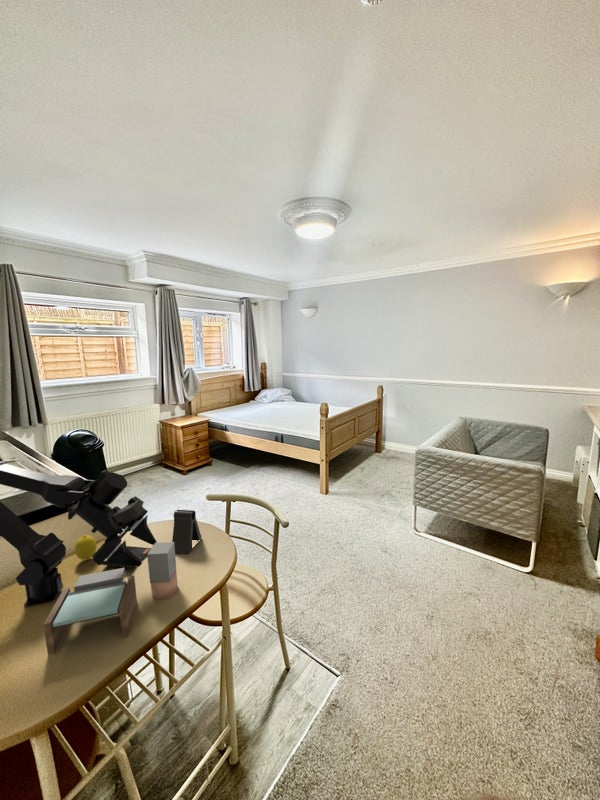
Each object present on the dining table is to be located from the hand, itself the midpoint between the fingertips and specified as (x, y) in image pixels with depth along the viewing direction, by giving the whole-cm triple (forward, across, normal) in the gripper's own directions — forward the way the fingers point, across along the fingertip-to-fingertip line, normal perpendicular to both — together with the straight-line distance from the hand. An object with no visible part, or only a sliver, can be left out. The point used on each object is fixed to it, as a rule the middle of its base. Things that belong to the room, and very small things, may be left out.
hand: (148, 553), depth 87 cm
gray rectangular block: (+7, 0, +2) cm, 7 cm away
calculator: (-1, +14, +17) cm, 22 cm away
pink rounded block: (+10, 0, +5) cm, 11 cm away
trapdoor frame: (+2, -12, +13) cm, 18 cm away
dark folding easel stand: (+10, +21, +6) cm, 23 cm away
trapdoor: (-3, -10, +9) cm, 14 cm away
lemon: (-11, +15, +26) cm, 32 cm away
